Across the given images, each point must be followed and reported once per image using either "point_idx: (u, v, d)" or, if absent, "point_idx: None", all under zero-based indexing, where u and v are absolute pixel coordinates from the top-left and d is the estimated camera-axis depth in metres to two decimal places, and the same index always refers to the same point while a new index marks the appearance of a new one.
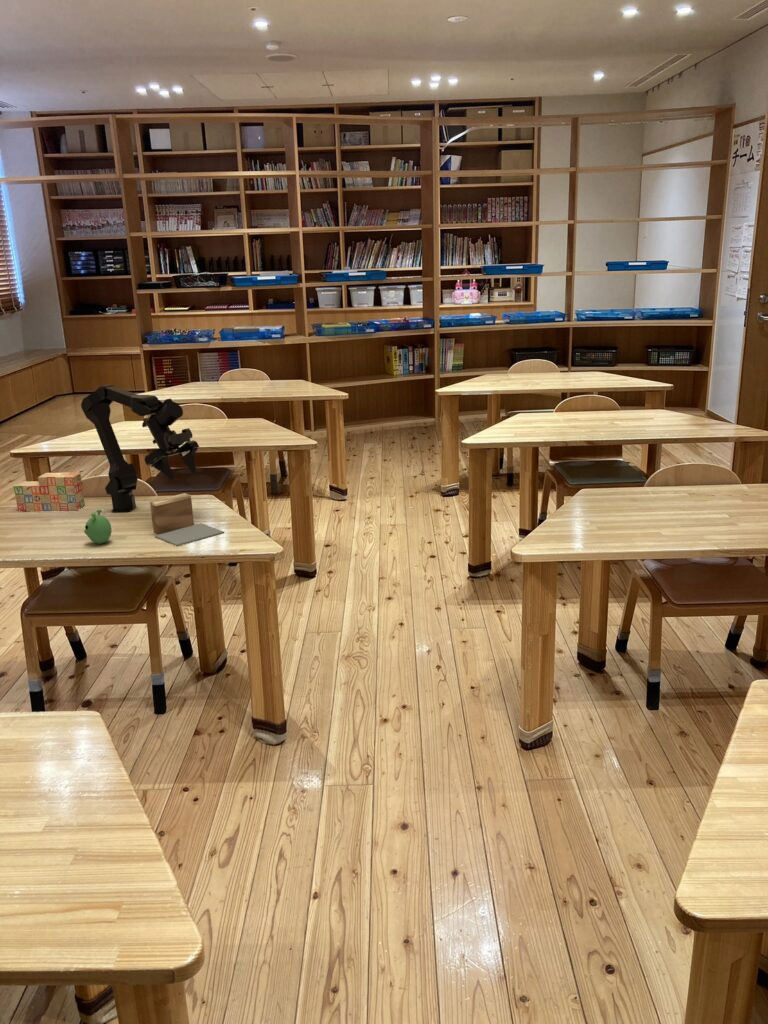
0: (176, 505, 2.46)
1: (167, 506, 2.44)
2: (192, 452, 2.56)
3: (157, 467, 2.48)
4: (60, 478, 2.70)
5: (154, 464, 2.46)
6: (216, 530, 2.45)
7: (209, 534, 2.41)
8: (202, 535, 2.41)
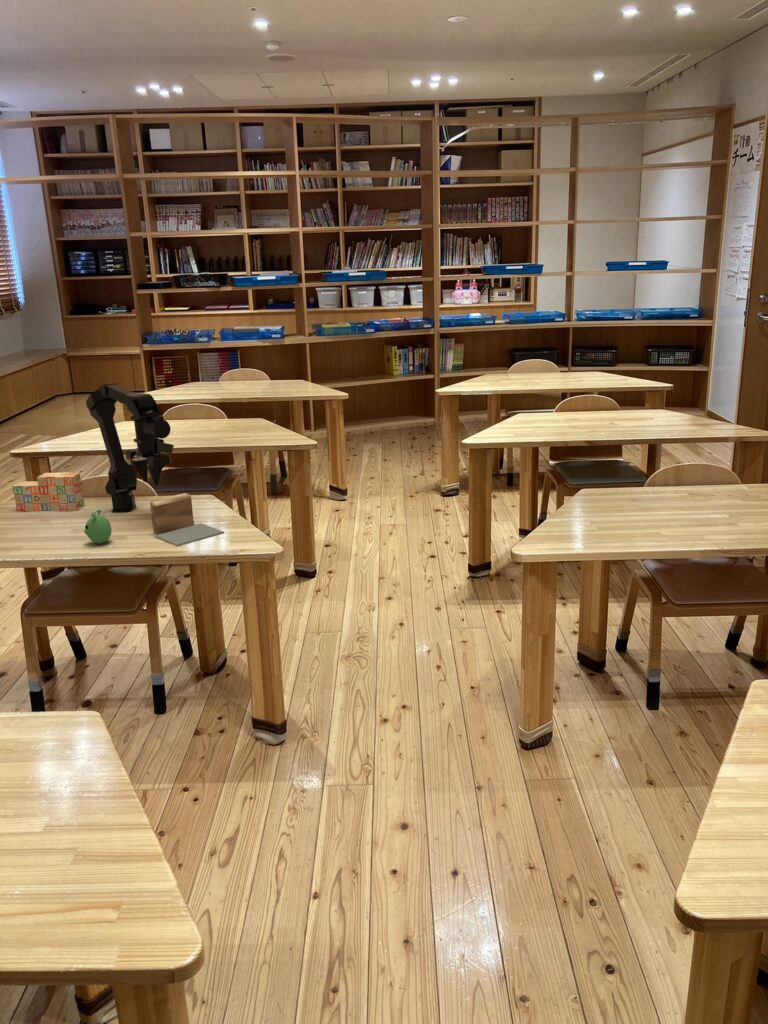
0: (176, 505, 2.46)
1: (167, 506, 2.44)
2: None
3: (152, 469, 2.50)
4: (60, 478, 2.70)
5: (157, 467, 2.49)
6: (216, 530, 2.45)
7: (209, 534, 2.41)
8: (202, 535, 2.41)
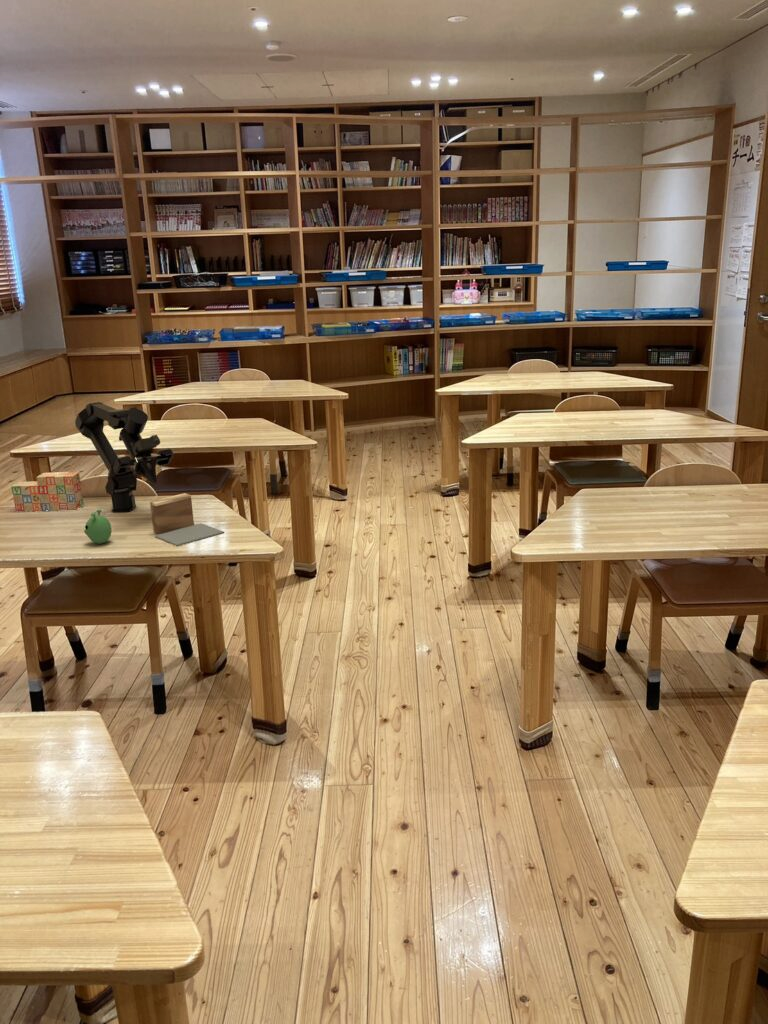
0: (176, 505, 2.46)
1: (167, 506, 2.44)
2: (152, 461, 2.53)
3: (139, 472, 2.53)
4: (59, 477, 2.71)
5: (135, 469, 2.52)
6: (216, 530, 2.45)
7: (209, 534, 2.41)
8: (202, 535, 2.41)
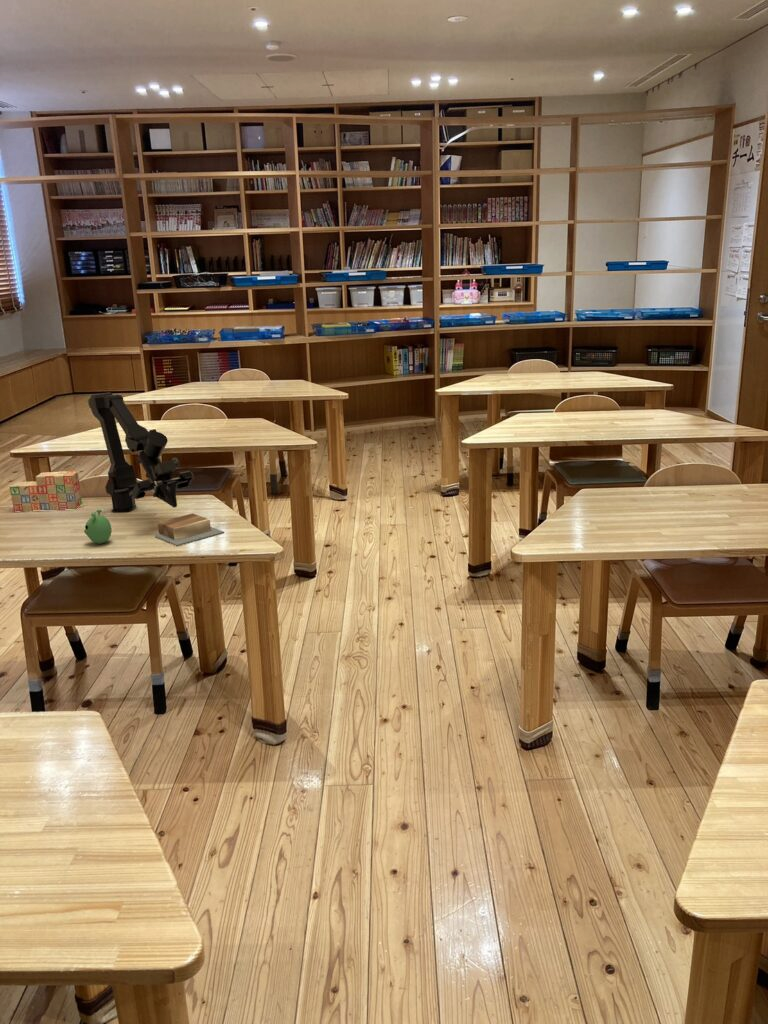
0: None
1: None
2: (172, 485, 2.46)
3: (159, 496, 2.47)
4: (59, 477, 2.71)
5: (154, 493, 2.46)
6: (216, 530, 2.45)
7: (209, 534, 2.41)
8: (202, 535, 2.41)
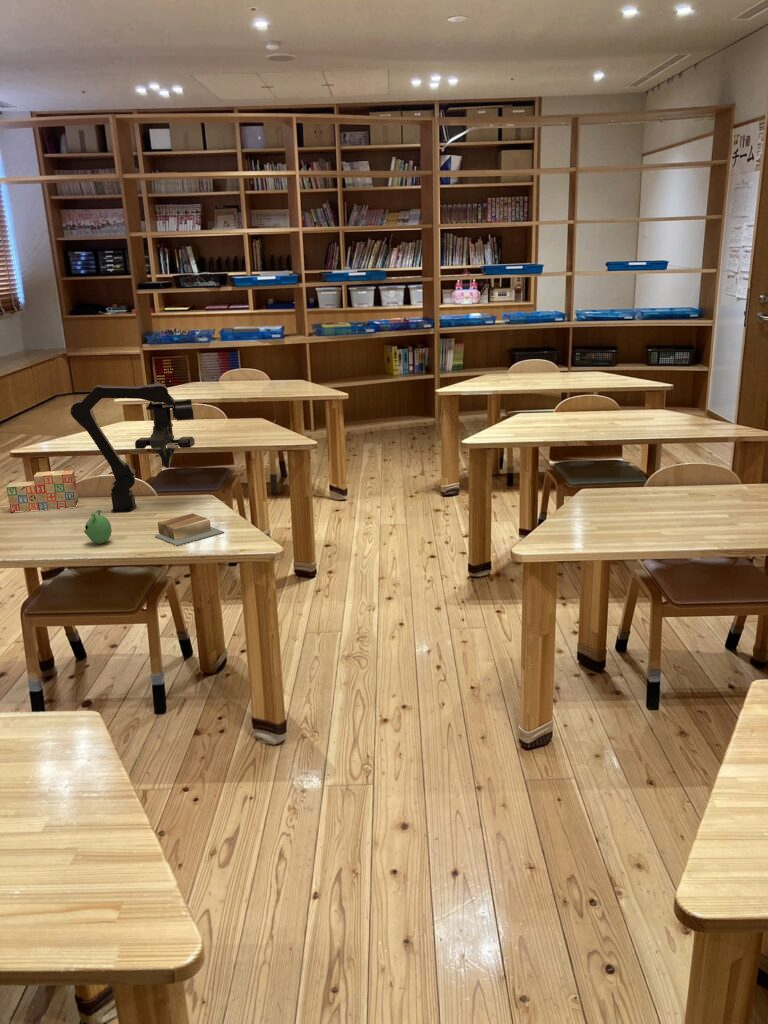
0: None
1: None
2: (166, 451, 2.69)
3: None
4: (58, 476, 2.73)
5: None
6: (216, 530, 2.45)
7: (209, 534, 2.41)
8: (202, 535, 2.41)
